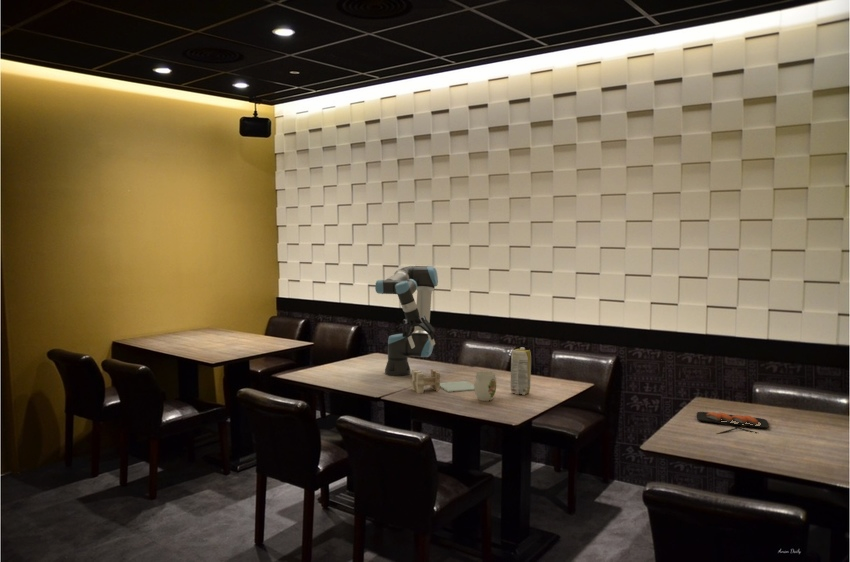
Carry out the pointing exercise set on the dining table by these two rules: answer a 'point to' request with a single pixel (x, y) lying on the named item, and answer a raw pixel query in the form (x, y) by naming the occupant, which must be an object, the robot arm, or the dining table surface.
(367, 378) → the dining table surface
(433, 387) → the stool
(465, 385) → the mat
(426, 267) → the robot arm
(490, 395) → the cream mug
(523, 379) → the juice carton
